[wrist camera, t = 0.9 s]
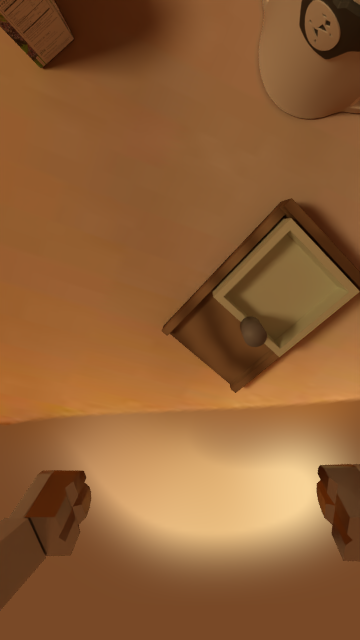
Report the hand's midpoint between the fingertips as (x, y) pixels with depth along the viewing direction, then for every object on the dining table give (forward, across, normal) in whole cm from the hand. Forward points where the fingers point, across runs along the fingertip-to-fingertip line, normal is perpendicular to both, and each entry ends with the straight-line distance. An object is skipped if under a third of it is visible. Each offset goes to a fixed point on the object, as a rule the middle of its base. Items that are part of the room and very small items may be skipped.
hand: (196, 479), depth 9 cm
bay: (+34, -9, +4) cm, 35 cm away
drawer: (+33, -12, +2) cm, 35 cm away
